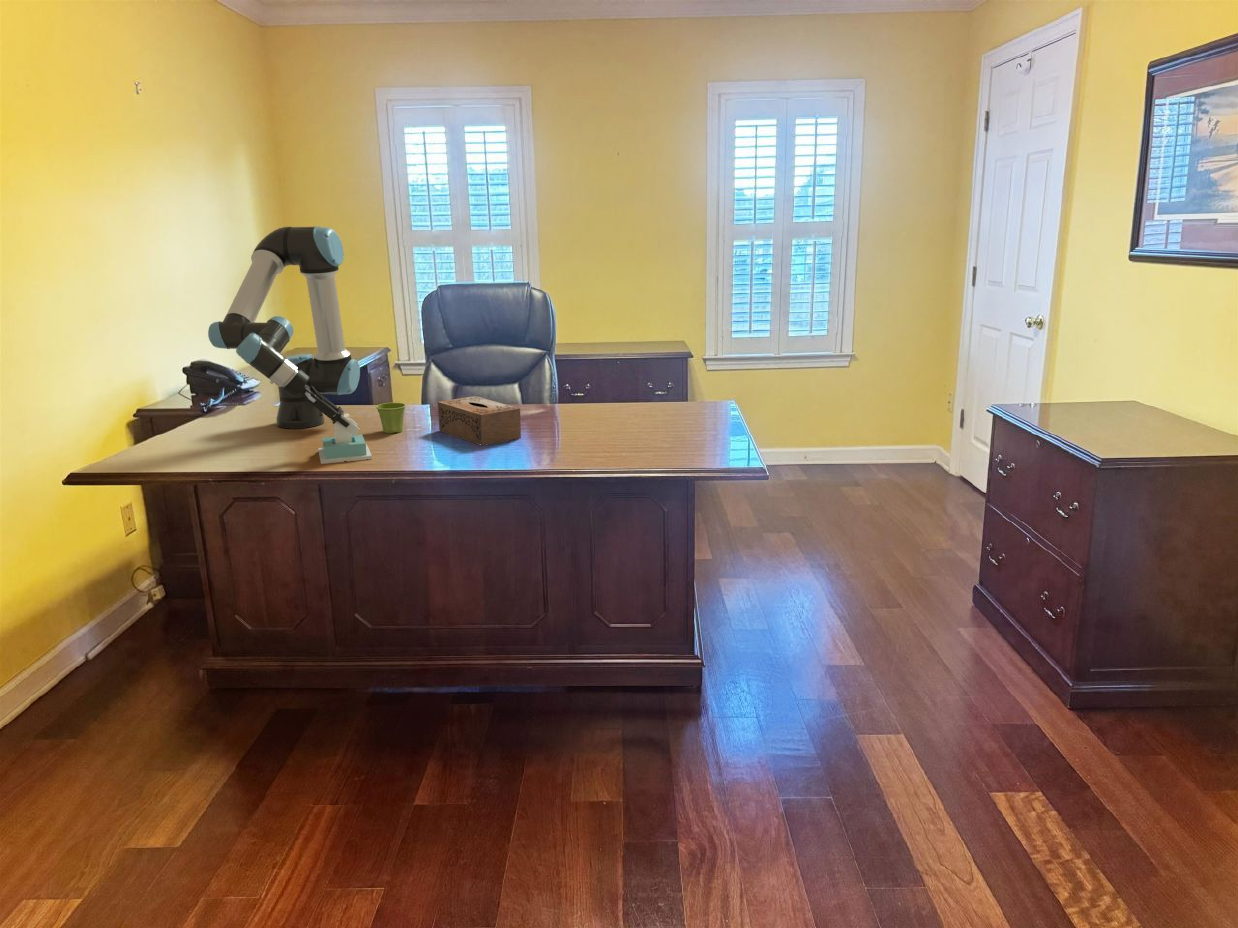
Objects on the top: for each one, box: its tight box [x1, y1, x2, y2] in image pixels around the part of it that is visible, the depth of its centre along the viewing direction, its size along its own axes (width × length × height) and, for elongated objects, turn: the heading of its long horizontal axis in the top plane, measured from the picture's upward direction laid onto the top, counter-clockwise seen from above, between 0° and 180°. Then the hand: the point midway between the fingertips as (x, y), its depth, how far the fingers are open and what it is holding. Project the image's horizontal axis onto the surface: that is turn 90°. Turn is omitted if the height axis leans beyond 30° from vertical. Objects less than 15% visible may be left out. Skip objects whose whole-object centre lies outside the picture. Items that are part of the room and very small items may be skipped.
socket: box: [317, 434, 373, 465], centre depth 243 cm, size 14×14×4 cm
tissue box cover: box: [437, 395, 522, 446], centre depth 267 cm, size 26×14×10 cm, turn 42°
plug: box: [333, 407, 352, 444], centre depth 241 cm, size 4×4×13 cm
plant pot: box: [375, 402, 407, 434], centre depth 270 cm, size 9×9×9 cm
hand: (355, 430), depth 243 cm, fingers open, 5 cm apart
